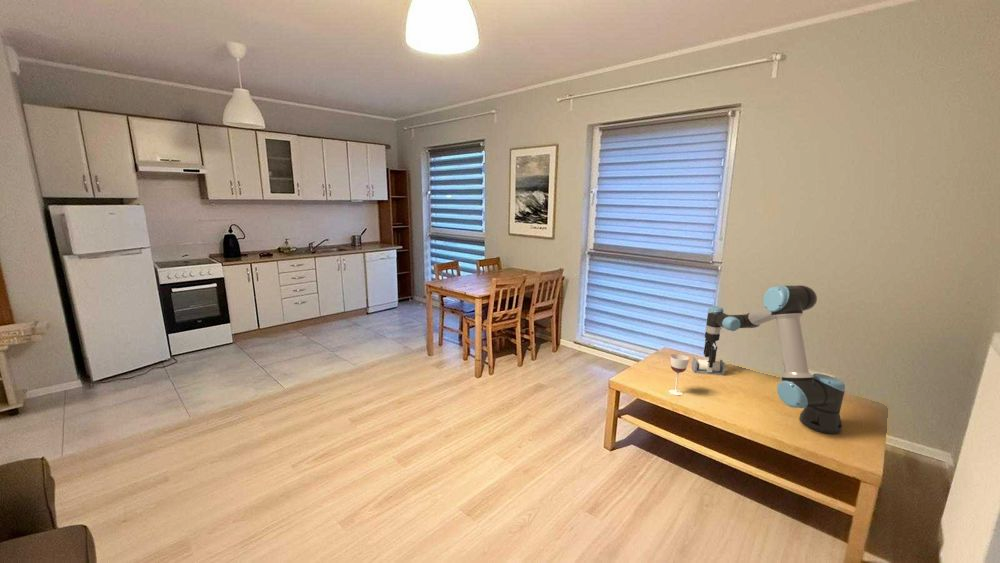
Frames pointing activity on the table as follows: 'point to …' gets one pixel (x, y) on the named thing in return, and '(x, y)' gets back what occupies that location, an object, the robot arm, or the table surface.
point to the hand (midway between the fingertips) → (707, 369)
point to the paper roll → (703, 364)
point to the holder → (694, 368)
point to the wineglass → (678, 368)
